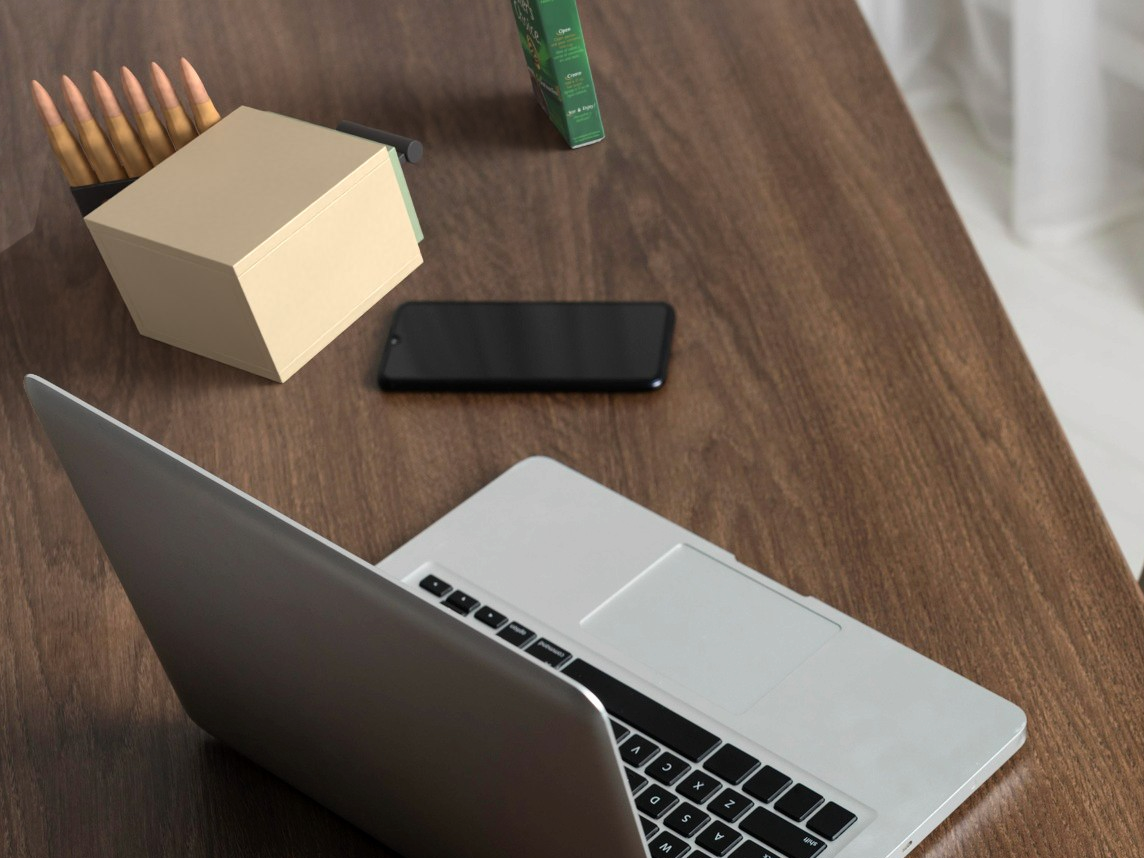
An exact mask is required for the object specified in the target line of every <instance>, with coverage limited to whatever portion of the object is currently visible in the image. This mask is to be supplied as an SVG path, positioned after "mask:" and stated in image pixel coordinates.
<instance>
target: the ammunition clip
mask: <svg viewBox="0 0 1144 858" xmlns="http://www.w3.org/2000/svg"><path fill="white" fill-rule="evenodd" d="M178 69H179V75H180V81H181V84H182V87H183V90H184V92H185V95H186V98H187V100H188V103H189V108H190V109H191V112H192V114H193V119H194V122H193V120H192V118H191V117H190V116H189V114H188V113H187V111H186V108H185V107H184V104H183V103H182V101H181V100H180V97H179V96H178V94H177V91H176V89H175V88H174V86H173V83H172V82H171V80H170V79H169V77H168V76H167V74H166V73H165V72H164V70H163V69H162V68H161V67H160V66H159V65H158V64H157V63H156V62H155V61H152V60H151V61H150V62H149V73H150V80H151V84H152V87H153V91H154V94H155V97H156V99H157V101H158V103H159V107H160V110H161V113H162V115H163V117H164V120H165V124H164V123H163V122H162V120H161V119H160V117H159V116H158V115H157V112H156V111H155V109H154V106H153V105H152V103H151V102H150V99H149V97H148V96H147V93H146V92H145V90H144V88H143V86H142V85H141V83H140V82H139V81H138V78H137V77H136V76H135V74H134V73H133V72H131V71H130V70H129V68H127V67H126V66H125V65H121V66H120V79H121V84H122V89H123V92H124V95H125V98H126V101H127V103H128V105H129V107H130V110H131V114H132V116H133V118H134V121H135V124H136V127H137V130H136V128H135V127H134V125H133V124H132V123H131V121H130V120H129V118H128V116H127V114H126V112H125V110H124V109H123V108H122V105H121V103H120V101H119V100H118V98H117V96H116V94H115V92H114V91H113V89H112V88H111V86H110V85H109V84H108V82H107V81H106V79H104V78H103V76H102V75H100V73H99V72H97V70H95V69H92V70H91V72H90V80H91V85H92V90H93V95H94V97H95V100H96V103H97V105H98V108H99V110H100V112H101V114H102V118H103V120H104V123H105V124H106V127H107V131H108V134H107V133H106V132H105V130H104V129H103V128H102V127H101V125H100V124H99V121H98V119H97V117H96V116H95V114H94V113H93V111H92V109H91V107H90V105H89V104H88V102H87V100H86V98H85V97H84V95H83V94H82V92H81V91H80V89H79V88H78V87H77V86H76V84H75V83H74V82H73V81H72V80H71V79H70V78H69V77H68V76H67V75H65V74H61V76H60V84H61V91H62V95H63V98H64V101H65V104H66V108H67V109H68V112H69V114H70V116H71V118H72V121H73V123H74V126H75V128H76V131H77V133H78V137H79V140H78V138H77V136H76V135H75V134H74V133H73V131H72V130H71V129H70V127H69V125H68V123H67V121H66V119H65V118H64V117H63V115H62V113H61V111H60V109H59V107H58V105H57V104H56V103H55V101H54V99H53V98H52V97H51V96H50V94H49V93H48V91H47V90H46V89H45V88H44V87H43V85H41V84H40V83H39V82H38V81H37V80H35V79H31V80H30V91H31V95H32V100H33V103H34V107H35V109H36V111H37V114H38V116H39V118H40V121H41V123H42V124H43V129H44V130H45V133H46V134H47V137H48V140H49V144H50V147H51V150H52V152H53V154H54V156H55V158H56V160H57V162H58V165H59V166H60V168H61V170H62V172H63V174H64V177H65V178H66V180H67V182H68V184H69V190H70V192H71V195H72V197H73V199H74V202H75V203H76V206H77V208H78V210H79V213H80V215H81V217H82V219H83V218H84V217H85V216H87V215H88V214H90V213H91V212H92V211H94V210H95V209H97V208H98V207H100V206H101V205H102V204H104V203H105V202H107V201H108V200H109V199H111V198H112V197H114V196H115V195H116V194H118V193H119V192H121V191H122V190H123V189H125V188H126V187H128V186H129V185H130V184H132V183H133V182H135V181H136V180H138V179H139V178H140V177H142V176H143V175H145V174H146V173H147V172H149V171H150V170H152V169H153V168H154V167H156V166H157V165H159V164H160V163H161V162H163V161H164V160H166V159H167V158H169V157H170V156H171V155H173V154H174V153H176V152H177V151H178V150H180V149H181V148H183V147H184V146H185V145H187V144H188V143H190V142H191V141H192V140H194V139H195V138H197V137H198V136H199V135H201V134H202V133H204V132H205V131H207V130H208V129H209V128H211V127H212V126H214V125H215V124H216V123H218V122H219V121H221V120H222V119H223V118H222V117H221V115H220V113H219V111H217V109H216V108H215V106H214V104H213V102H212V100H211V97H210V96H209V94H208V92H207V90H206V88H205V86H204V84H203V82H202V80H201V78H200V76H199V75H198V73H197V71H196V70H195V69H194V67H193V66H192V65H191V63H190V62H189V61H188V60H186V59H185V58H184V57H183V56H179V58H178ZM108 135H109V136H108ZM83 222H84V224H85V226H86V228H87V231H88V233H89V235H90V238H91V240H92V241H93V244H94V246H95V248H96V251H97V253H98V255H99V256H100V257H101V258H103V257H102V255H101V253H100V251H99V249H98V247H97V245H96V243H95V241H94V239H93V237H92V235H91V233H90V231H89V230H90V229H88V227H87V225H86V223H85V221H84V220H83Z"/></svg>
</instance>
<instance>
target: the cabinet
mask: <svg viewBox="0 0 1144 858" xmlns="http://www.w3.org/2000/svg"><path fill="white" fill-rule="evenodd" d="M221 119H222V120H221V121H219V122H218V123H216V124H215V125H214V126H212V127H211V128H209V129H208V130H207V131H205V132H204V133H202V134H201V135H200V134H199V136H198V137H197V138H195V139H194V140H192V141H191V142H190V143H188V144H187V145H185V146H184V147H183V148H181V149H180V150H178V151H176V153H174V154H173V155H171V156H170V157H169V158H167V159H166V160H164V161H163V162H161V163H160V164H159V165H157V166H156V167H154V168H153V169H152V170H150V171H149V172H147V173H146V174H145V175H143V176H142V177H140V178H139V179H138V180H136V181H135V182H133V183H132V184H130V185H129V186H128V187H126V188H125V189H123V190H122V191H121V192H119V193H118V194H116V195H115V196H114V197H112V198H111V199H109V200H108V201H107V202H105V203H104V204H102V205H101V206H100V207H98V208H97V209H95V210H94V211H92V212H91V213H90V214H88V215H87V216H85V217H84V218H83V217H82V220H83V222H84V221H85V222H84V224H85V223H86V224H85V226H86V225H87V226H86V228H87V227H88V228H87V230H88V229H90V230H89V231H90V233H91V235H92V237H93V239H94V241H95V243H96V245H97V247H98V249H99V251H100V253H101V255H102V257H101V258H102V259H103V261H104V264H105V265H106V267H107V269H108V272H109V273H110V275H111V277H112V279H113V281H114V283H115V286H116V287H117V290H118V292H119V294H120V296H121V299H122V300H123V302H124V304H125V306H126V308H127V310H128V312H129V314H130V316H131V318H132V320H133V322H134V324H135V327H136V329H137V331H138V333H139V335H141V336H143V337H145V338H146V337H147V338H150V339H152V340H155V341H158V342H161V343H163V344H166V345H170V346H173V347H176V348H179V349H180V350H184V351H187V352H190V353H193V354H196V355H199V356H201V357H204V358H207V359H210V360H213V361H216V362H218V363H222V364H223V365H228V366H231V367H234V368H236V369H239V370H242V371H245V372H248V373H250V374H253V375H256V376H259V377H262V378H265V379H268V380H271V381H274V382H277V383H280V384H284V383H285V382H287V381H288V380H289V379H290V378H292V377H293V376H294V374H296V373H297V372H298V371H299V370H301V369H302V368H303V367H304V366H305V365H306V364H308V363H309V362H310V361H311V360H312V359H313V358H315V357H316V356H317V355H318V354H319V353H320V352H321V351H323V350H324V349H325V348H326V347H327V346H328V345H330V344H331V343H332V342H333V341H334V340H335V339H337V338H338V337H339V336H341V334H342V333H343V332H344V331H345V330H347V329H348V328H349V327H351V325H352V324H354V323H355V322H356V321H357V320H359V318H361V317H362V316H363V315H364V314H365V313H366V312H367V311H369V310H370V309H372V307H373V306H375V305H376V304H377V303H379V301H380V300H382V299H383V298H384V297H385V296H386V295H387V294H389V292H391V291H392V290H393V289H394V288H395V287H396V286H398V285H399V284H400V283H402V281H403V280H405V278H407V277H409V275H410V274H412V273H413V272H414V271H415V270H416V269H418V267H420V266H421V265H422V264H423V263H424V259H423V257H422V253H421V250H420V247H419V243H417V240H416V237H415V234H414V231H413V228H412V225H411V222H410V219H409V216H408V213H407V210H406V207H405V204H404V200H403V197H402V194H401V191H400V188H399V185H398V182H397V179H396V176H395V173H394V170H393V167H392V164H391V161H390V158H389V155H388V152H387V149H386V147H385V146H383V145H379V144H376V143H372V142H369V141H365V140H362V139H358V138H355V137H351V136H348V135H344V134H341V133H337V132H334V131H330V130H327V129H323V128H320V127H316V126H313V125H309V124H306V123H302V122H299V121H295V120H292V119H288V118H285V117H281V116H278V115H274V114H271V113H267V112H266V111H263V110H261V109H256V108H253V107H250V106H246V105H243V104H242V105H239V107H237V108H236V109H234V110H233V111H232V112H230V113H229V114H228V115H226V116H225V117H223V118H221ZM89 231H88V232H89ZM90 233H89V234H90ZM91 235H90V236H91ZM92 237H91V238H92ZM93 239H92V240H93Z"/></svg>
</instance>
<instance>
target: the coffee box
mask: <svg viewBox="0 0 1144 858" xmlns="http://www.w3.org/2000/svg"><path fill="white" fill-rule="evenodd" d="M509 1H510V4H511V8H512V12H513V17H514V20H515V25H516V28H517V31H518V36H519V40H520V43H521V48H522V51H523V55H524V59H525V62H526V68H527V71H528V75H529V78H530V82H531V87H532V90H533V93H534V97H535V100H536V102H537V103H538V104H539V106H540V107H541V109H542V111H544V113H545V115H546V116H547V117H548V118H549V120H550V121H551V123H552V125H554V127H555V128H556V130H557V131H558V132H559V133H560V136H561V137H562V138H563V140H565V142H566V143H567V145H568V146H569V148H571V149H578V148H582V147H585V146H589V145H593V144H595V143H598V142H599V143H600V142H601V140H603V139H605V137H606V134H605V129H604V125H603V121H602V116H601V112H600V108H599V102H598V98H597V93H596V89H595V88H596V87H595V83H594V80H593V75H592V71H591V66H590V62H589V57H588V53H587V47H586V44H585V38H584V34H583V30H582V25H581V20H580V15H579V11H578V7H577V2H576V1H577V0H509Z"/></svg>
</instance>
